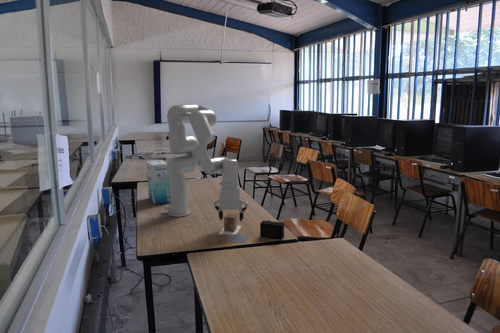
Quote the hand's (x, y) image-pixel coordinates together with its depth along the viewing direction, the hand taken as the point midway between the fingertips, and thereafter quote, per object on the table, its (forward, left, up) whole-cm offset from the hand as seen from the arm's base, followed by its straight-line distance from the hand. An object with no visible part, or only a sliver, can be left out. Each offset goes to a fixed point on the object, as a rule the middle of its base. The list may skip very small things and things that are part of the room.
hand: (231, 219), depth 180 cm
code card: (-1, 0, -5) cm, 5 cm away
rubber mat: (+5, -10, -5) cm, 12 cm away
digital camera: (+21, -4, -6) cm, 22 cm away
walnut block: (0, 0, -5) cm, 5 cm away
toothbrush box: (-57, +43, -6) cm, 71 cm away
